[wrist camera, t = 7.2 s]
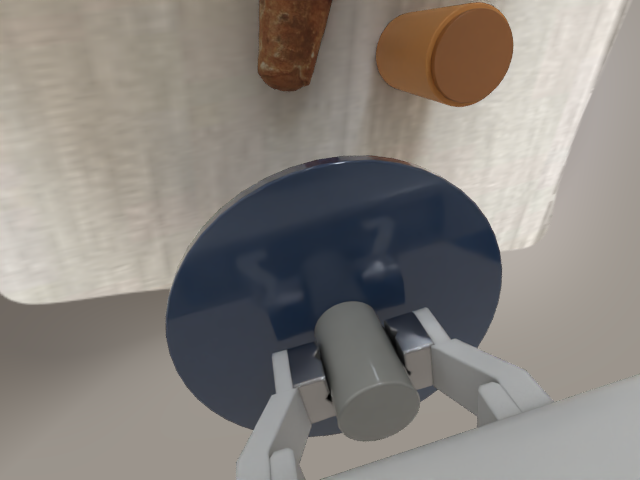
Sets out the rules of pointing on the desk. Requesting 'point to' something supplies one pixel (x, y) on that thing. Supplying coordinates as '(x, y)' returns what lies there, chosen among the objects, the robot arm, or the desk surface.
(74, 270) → the desk surface
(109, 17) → the desk surface
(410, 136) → the desk surface
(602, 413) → the robot arm
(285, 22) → the bread
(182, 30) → the desk surface
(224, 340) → the pot lid
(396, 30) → the tall brown tube
